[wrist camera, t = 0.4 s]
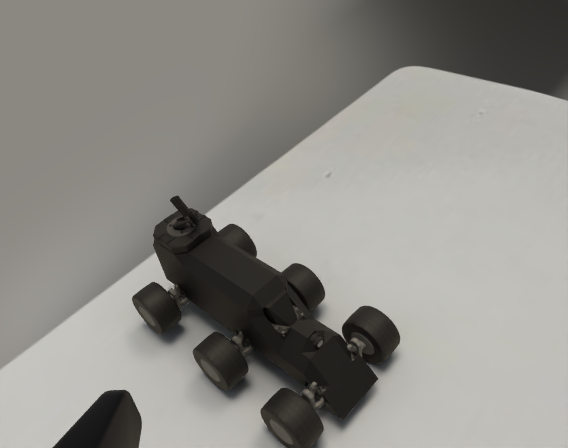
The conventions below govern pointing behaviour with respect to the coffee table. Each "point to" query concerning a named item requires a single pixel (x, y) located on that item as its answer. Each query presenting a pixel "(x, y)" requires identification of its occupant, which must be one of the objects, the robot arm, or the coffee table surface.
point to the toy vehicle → (264, 322)
